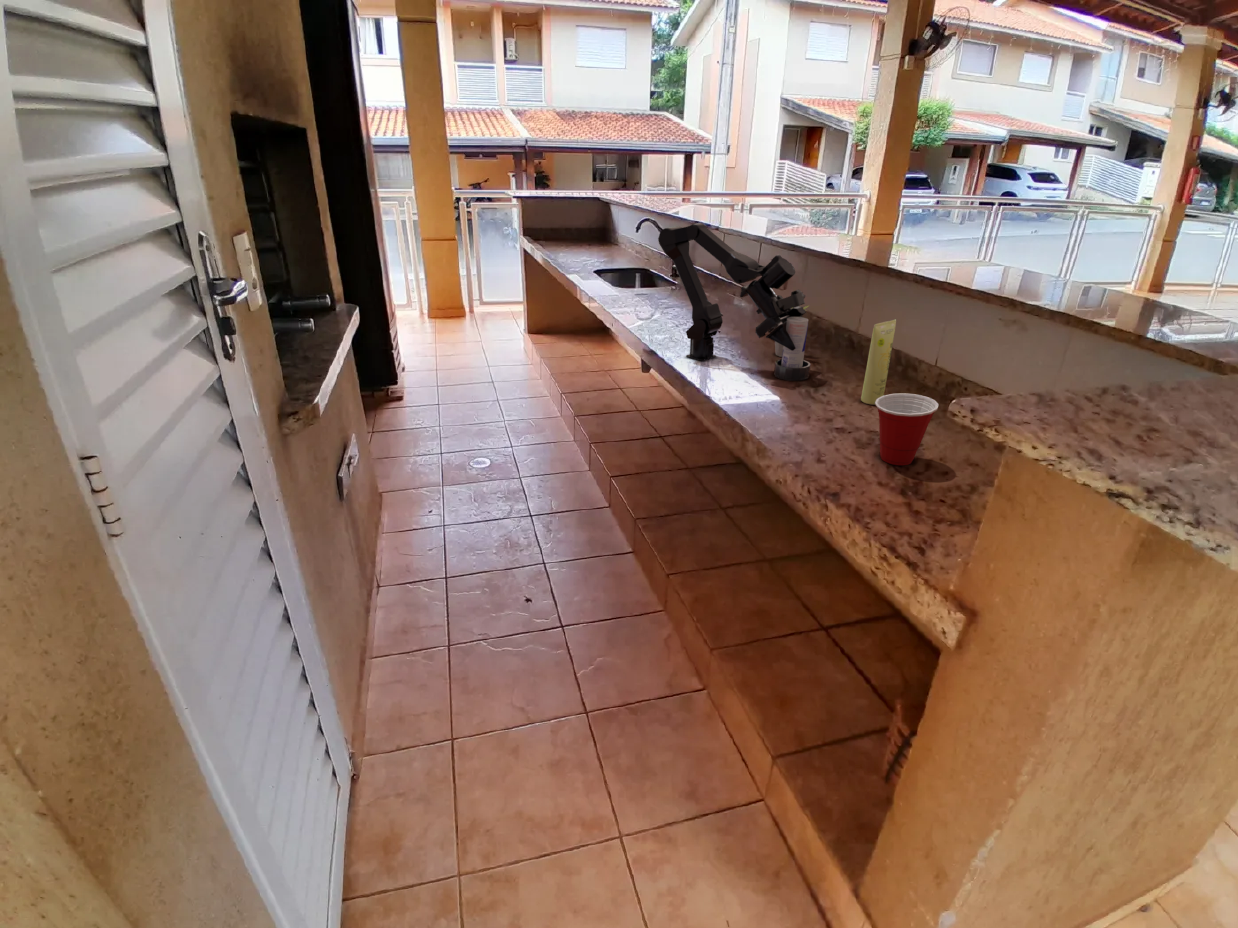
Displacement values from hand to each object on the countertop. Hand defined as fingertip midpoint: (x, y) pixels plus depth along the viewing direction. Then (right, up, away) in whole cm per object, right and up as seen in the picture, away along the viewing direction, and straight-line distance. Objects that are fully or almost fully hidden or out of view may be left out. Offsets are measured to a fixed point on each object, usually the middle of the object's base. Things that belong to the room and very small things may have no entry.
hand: (799, 347), depth 164 cm
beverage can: (-1, -7, +4) cm, 8 cm away
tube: (+13, -16, -15) cm, 26 cm away
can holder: (-1, -7, +4) cm, 8 cm away
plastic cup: (+6, -30, -44) cm, 54 cm away
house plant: (+1, +2, +23) cm, 23 cm away
